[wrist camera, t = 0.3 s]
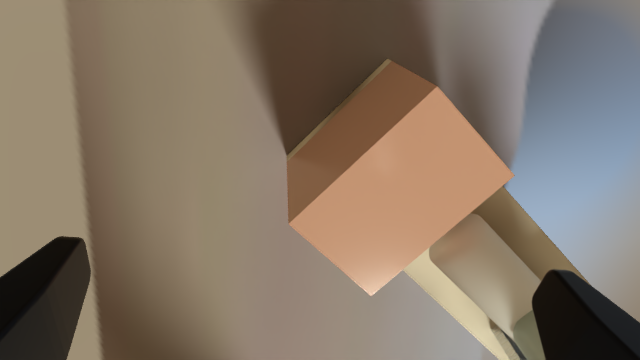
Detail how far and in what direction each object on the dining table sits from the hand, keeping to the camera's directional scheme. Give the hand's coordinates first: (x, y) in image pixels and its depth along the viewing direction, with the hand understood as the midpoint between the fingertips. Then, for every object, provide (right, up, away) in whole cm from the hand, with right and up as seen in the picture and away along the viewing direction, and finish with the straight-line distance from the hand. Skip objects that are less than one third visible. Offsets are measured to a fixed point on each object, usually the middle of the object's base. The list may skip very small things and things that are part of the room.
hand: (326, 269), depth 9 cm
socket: (+2, +3, +14) cm, 15 cm away
